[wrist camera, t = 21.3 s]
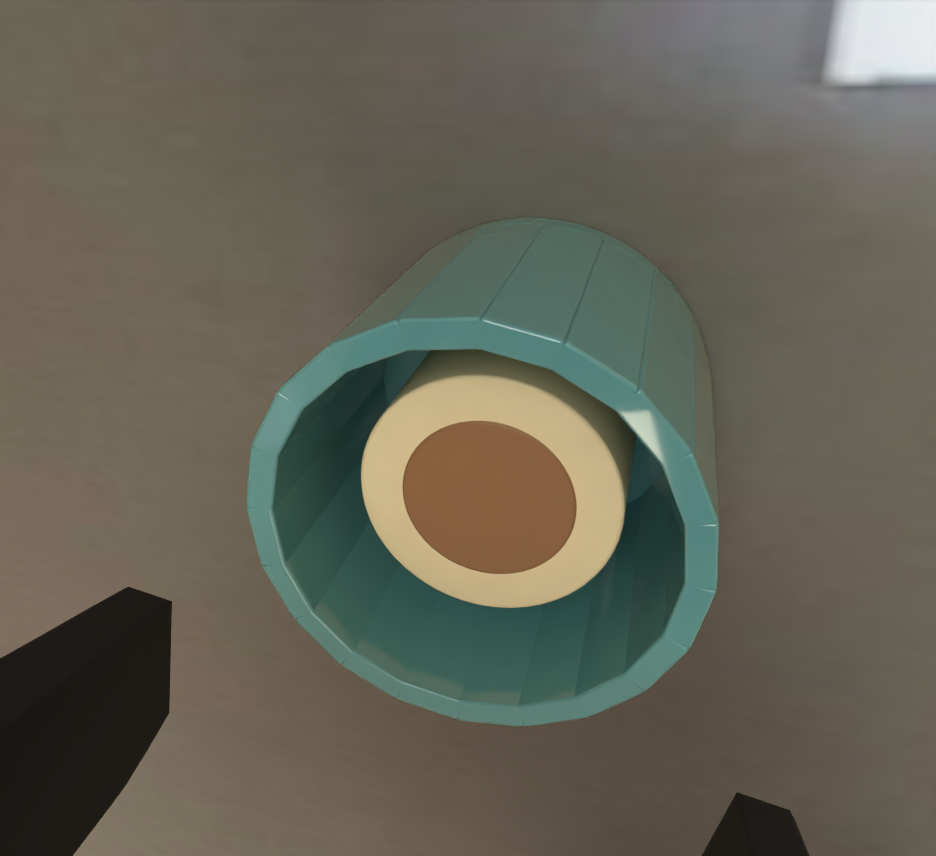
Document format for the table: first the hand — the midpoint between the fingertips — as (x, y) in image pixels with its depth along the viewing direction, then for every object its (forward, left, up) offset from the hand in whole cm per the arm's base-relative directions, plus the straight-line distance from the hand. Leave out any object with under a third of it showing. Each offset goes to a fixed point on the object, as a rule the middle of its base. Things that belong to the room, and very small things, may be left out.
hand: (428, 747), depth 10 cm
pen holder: (0, +1, -10) cm, 10 cm away
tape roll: (0, +1, -10) cm, 10 cm away
